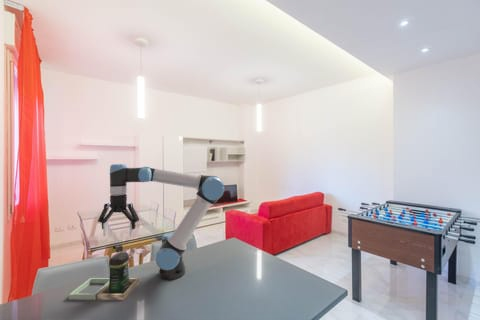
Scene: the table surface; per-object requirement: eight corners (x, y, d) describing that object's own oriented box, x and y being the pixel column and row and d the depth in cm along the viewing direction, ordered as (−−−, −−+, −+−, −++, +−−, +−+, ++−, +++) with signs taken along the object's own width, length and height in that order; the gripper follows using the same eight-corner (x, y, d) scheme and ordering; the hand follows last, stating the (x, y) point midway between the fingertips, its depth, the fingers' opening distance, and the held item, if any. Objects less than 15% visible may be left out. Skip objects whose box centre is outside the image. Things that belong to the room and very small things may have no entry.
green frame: (113, 282, 123) (113, 278, 123) (95, 299, 108) (95, 294, 108) (90, 282, 123) (90, 277, 123) (69, 299, 108) (69, 294, 108)
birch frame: (138, 282, 123) (138, 278, 123) (123, 299, 108) (123, 294, 108) (115, 282, 123) (115, 278, 123) (97, 299, 108) (97, 294, 108)
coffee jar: (121, 296, 110) (121, 258, 110) (106, 296, 110) (105, 258, 111) (131, 285, 120) (131, 250, 120) (117, 285, 120) (117, 250, 120)
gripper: (145, 192, 119) (146, 233, 119) (99, 193, 119) (99, 233, 119) (138, 195, 111) (139, 237, 111) (89, 195, 112) (90, 237, 112)
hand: (118, 235), depth 115 cm, fingers open, 13 cm apart
